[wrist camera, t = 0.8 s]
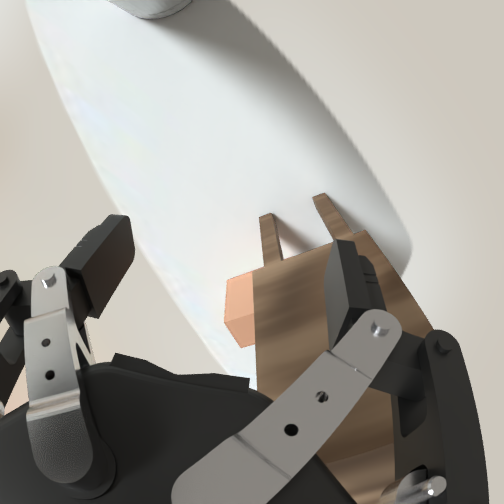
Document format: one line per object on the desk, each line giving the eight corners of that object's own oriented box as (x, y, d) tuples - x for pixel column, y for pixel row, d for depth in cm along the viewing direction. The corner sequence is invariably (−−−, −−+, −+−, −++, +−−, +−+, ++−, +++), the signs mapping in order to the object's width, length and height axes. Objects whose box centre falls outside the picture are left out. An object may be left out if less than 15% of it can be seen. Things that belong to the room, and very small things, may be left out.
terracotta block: (227, 280, 40) (223, 322, 33) (293, 256, 38) (304, 295, 31) (241, 305, 42) (240, 348, 35) (304, 283, 40) (315, 324, 33)
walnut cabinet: (240, 222, 36) (236, 479, 11) (331, 187, 34) (475, 404, 9) (290, 327, 44) (318, 519, 20) (363, 301, 42) (434, 483, 18)
